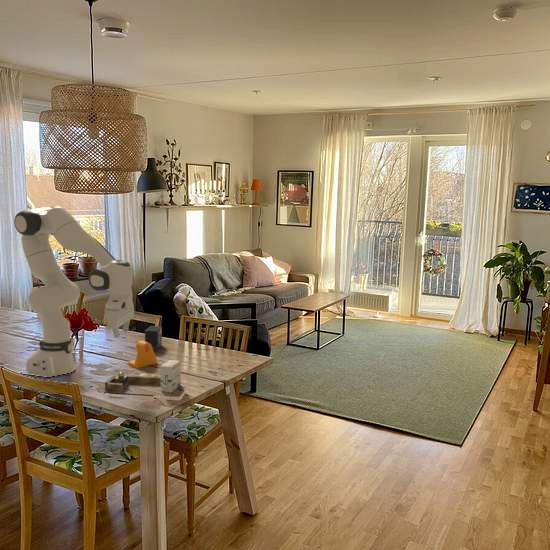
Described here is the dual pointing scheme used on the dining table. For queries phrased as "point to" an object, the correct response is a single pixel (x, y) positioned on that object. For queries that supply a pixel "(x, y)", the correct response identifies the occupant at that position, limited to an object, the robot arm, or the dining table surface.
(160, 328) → the small box
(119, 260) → the robot arm
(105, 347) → the dining table surface
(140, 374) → the tan square plate
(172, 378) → the ink box
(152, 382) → the open box
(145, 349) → the bracket
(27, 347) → the dining table surface
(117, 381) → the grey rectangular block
